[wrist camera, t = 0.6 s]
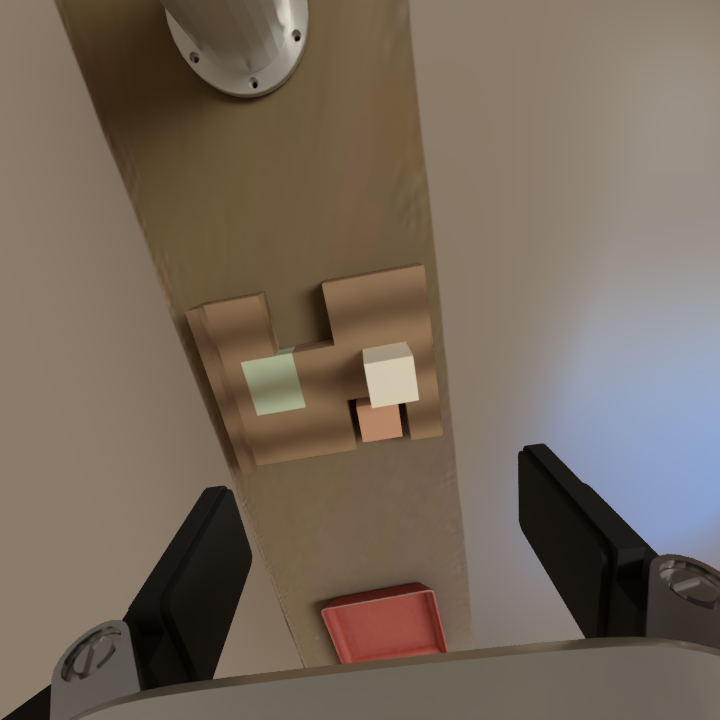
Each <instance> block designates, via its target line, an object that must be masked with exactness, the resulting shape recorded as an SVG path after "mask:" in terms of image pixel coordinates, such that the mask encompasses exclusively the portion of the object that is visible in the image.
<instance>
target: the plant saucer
mask: <svg viewBox="0 0 720 720" xmlns="http://www.w3.org/2000/svg"><path fill="white" fill-rule="evenodd" d="M321 613H322V616H323V618H324V621H325V624H326V626H327V629H328V631H329V633H330V636H331V638H332V641H333V643H334V646H335V648H336V651H337V653H338V656H339V658H340V661H341V663H342V664H346V663H355V662H364V661H373V660H382V659H391V658H400V657H409V656H418V655H428V654H437V653H446V652H448V649H447V644H446V640H445V635H444V632H443V628H442V623H441V619H440V615H439V611H438V607H437V603H436V598H435V594H434V592H433V591H432V590H431V589H430V588H429V587H427V586H425V585H423V584H421V583H413V584H408V585H402V586H397V587H392V588H386V589H381V590H375V591H370V592H365V593H359V594H354V595H348V596H343V597H338V598H336V599H334V600H333V601H331V602H330V603H329V604H327V605H326V606H325V607H324V608H323V609H322V611H321Z"/></svg>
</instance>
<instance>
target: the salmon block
mask: <svg viewBox="0 0 720 720" xmlns="http://www.w3.org/2000/svg"><path fill="white" fill-rule="evenodd" d="M356 408H357V413H358V418H359V423H360V429H361V434H362V439H363V442H369V441H375V440H382V439H388V438H395V437H401V436H403V435H402V428H401V421H400V414H399V407H398V404H394V405H388V406H382V407H377V408H372V405H371V400H370V396H369V397H363V398H357V399H356Z"/></svg>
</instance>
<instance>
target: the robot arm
mask: <svg viewBox="0 0 720 720" xmlns="http://www.w3.org/2000/svg"><path fill="white" fill-rule="evenodd" d="M159 1H160V2H161V4H162V5H163V6H164V9H165V13H166V18H167V23H168V26H169V29H170V31H171V34H172V37H173V40H174V42H175V43H176V45H177V47H178V49H179V51H180V53H181V54H182V56H183V57H184V59H185V60H186V61H187V63H188V64H189V65H190V67H191V68H192V69H193V70H194V71H195V72H196V73H197V74H198V75H199V76H200V77H201V78H202V79H203V80H204V81H206V82H207V83H208V84H209V85H211V86H212V87H214V88H216V89H218V90H219V91H221V92H223V93H226V94H229V95H232V96H235V97H245V98H251V97H258V96H263V95H265V94H268V93H270V92H273V91H274V90H276V89H277V88H278V87H280V86H281V85H283V84H284V83H285V82H286V81H287V80H288V79H289V77H290V76H291V75H292V74H293V73H294V71H295V69H296V68H297V66H298V64H299V63H300V60H301V58H302V55H303V53H304V50H305V47H306V42H307V37H308V28H309V11H308V2H307V0H159ZM296 38H299V39H300V41H298V42H295V40H296ZM198 59H199V61H198V63H196V61H197V60H198ZM255 84H258V86H257V88H255V89H254V85H255ZM518 484H519V523H520V526H521V529H522V531H523V533H524V535H525V536H526V538H527V540H528V542H529V543H530V545H531V547H532V548H533V550H534V552H535V553H536V555H537V557H538V559H539V560H540V562H541V563H542V565H543V567H544V569H545V570H546V572H547V574H548V575H549V577H550V579H551V580H552V582H553V584H554V586H555V587H556V589H557V591H558V592H559V594H560V596H561V597H562V599H563V601H564V602H565V604H566V606H567V608H568V609H569V611H570V612H571V614H572V616H573V618H574V619H575V621H576V623H577V624H578V626H579V628H580V630H581V631H582V633H583V635H584V636H585V638H586V639H579V640H567V641H555V642H543V643H533V644H523V645H513V646H504V647H495V648H484V649H475V650H465V651H456V652H446V653H437V654H428V655H418V656H409V657H400V658H391V659H382V660H373V661H364V662H355V663H346V664H337V665H329V666H320V667H311V668H303V669H294V670H286V671H278V672H269V673H260V674H252V675H243V676H235V677H227V678H220V679H213V676H214V673H215V670H216V667H217V664H218V661H219V658H220V655H221V653H222V650H223V647H224V643H225V641H226V638H227V635H228V632H229V629H230V626H231V623H232V620H233V617H234V614H235V611H236V608H237V605H238V602H239V599H240V596H241V593H242V590H243V588H244V585H245V582H246V579H247V576H248V573H249V570H250V567H251V563H252V552H251V549H250V546H249V542H248V540H247V536H246V533H245V530H244V526H243V523H242V520H241V517H240V514H239V510H238V507H237V504H236V501H235V498H234V494H233V492H232V490H230V489H229V490H228V489H227V487H226V486H217V487H209V488H206V489H205V490H204V491H203V493H202V494H201V496H200V498H199V499H198V501H197V502H196V504H195V506H194V507H193V509H192V510H191V512H190V513H189V515H188V516H187V518H186V520H185V521H184V523H183V524H182V526H181V527H180V529H179V530H178V532H177V534H176V535H175V537H174V538H173V540H172V541H171V543H170V544H169V546H168V548H167V549H166V551H165V552H164V554H163V555H162V557H161V559H160V560H159V562H158V563H157V565H156V566H155V568H154V569H153V571H152V572H151V574H150V576H149V577H148V579H147V580H146V582H145V583H144V585H143V587H142V588H141V590H140V591H139V593H138V594H137V596H136V597H135V599H134V601H133V602H132V604H131V605H130V607H129V608H128V609H129V610H128V612H127V614H126V615H125V617H124V618H123V620H122V621H121V620H111V621H108V622H104V623H101V624H99V625H97V626H96V627H94V628H92V629H90V630H89V631H87V632H86V633H85V634H83V635H82V636H81V637H79V638H78V639H77V640H76V641H75V642H74V643H73V644H72V645H71V646H70V647H69V648H68V649H67V650H66V652H65V653H64V654H63V655H62V657H61V658H60V659H59V661H58V663H57V665H56V667H55V668H54V671H53V675H52V681H51V684H50V685H49V686H47V687H46V688H45V689H43V690H42V691H41V692H39V693H38V694H37V695H35V696H34V697H32V698H31V699H29V700H28V701H27V702H25V703H24V704H23V705H21V706H20V707H18V708H17V709H16V710H14V711H13V712H12V713H10V714H9V715H7V716H6V717H5V718H3V719H2V720H720V572H719V571H717V570H716V569H714V568H713V567H711V566H709V565H707V564H705V563H703V562H701V561H698V560H696V559H693V558H689V557H686V556H681V555H673V554H666V555H661V556H659V555H658V554H657V553H656V552H655V551H654V550H653V549H652V548H651V547H650V546H649V545H648V544H647V543H646V542H645V541H644V540H643V539H642V538H641V537H640V536H639V535H638V534H637V533H636V532H635V531H634V530H633V529H632V528H631V527H630V526H629V525H628V524H627V523H626V522H625V521H624V520H623V519H622V518H621V517H620V516H619V515H618V514H617V513H616V512H615V511H614V510H613V509H612V508H611V507H610V506H609V505H608V504H607V503H606V502H605V501H604V500H603V499H602V498H601V497H600V496H599V495H598V494H597V493H596V492H595V491H594V490H593V489H592V488H591V487H590V486H589V485H587V484H585V483H582V482H581V481H580V479H579V478H578V477H577V476H575V474H574V473H573V472H572V471H571V470H570V469H569V468H568V467H567V466H566V465H565V464H564V463H563V462H562V461H561V460H560V459H559V458H558V457H557V456H556V455H555V454H554V453H553V452H552V451H551V450H550V449H549V448H548V447H547V446H546V445H545V444H535V445H528V446H524V448H523V451H520V452H519V454H518ZM212 679H213V680H212Z"/></svg>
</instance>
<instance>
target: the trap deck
mask: <svg viewBox="0 0 720 720" xmlns="http://www.w3.org/2000/svg"><path fill="white" fill-rule="evenodd" d="M322 288H323V293H324V297H325V302H326V307H327V311H328V316H329V321H330V325H331V330H332V335H333V339H330V340H324V341H318V342H313V343H307V344H302V345H296V346H291V347H285V348H280V347H279V343H278V340H277V336H276V332H275V328H274V325H273V321H272V317H271V314H270V310H269V306H268V303H267V299H266V295H265V292H260V293H255V294H249V295H244V296H239V297H233V298H228V299H223V300H217V301H212V302H206V303H203V304H201V305H198V306H196V307H194V308H191V309H189V310H187V311H185V314H186V317H187V320H188V323H189V325H190V328H191V331H192V334H193V337H194V339H195V342H196V345H197V348H198V351H199V353H200V356H201V359H202V362H203V365H204V367H205V370H206V373H207V376H208V379H209V381H210V384H211V387H212V390H213V393H214V395H215V398H216V401H217V404H218V407H219V410H220V412H221V415H222V418H223V421H224V424H225V426H226V429H227V432H228V435H229V438H230V440H231V443H232V446H233V449H234V452H235V454H236V457H237V460H238V463H239V466H240V468H241V471H242V474H243V477H250V476H253V475H254V473H255V471H256V468H257V466H259V465H265V464H271V463H277V462H283V461H289V460H295V459H301V458H307V457H313V456H319V455H326V454H332V453H338V452H344V451H350V450H356V449H357V436H356V431H355V426H354V421H353V417H352V412H351V407H350V402H349V400H352V399H357V398H363V397H369V396H370V395H369V389H368V384H367V379H366V373H365V368H364V361H363V350H362V349H367V348H372V347H378V346H384V345H389V344H395V343H400V342H406V343H407V345H408V347H409V349H410V351H411V353H412V354H413V358H414V366H415V373H416V381H417V388H418V395H419V400H418V401H412V402H406V403H404V405H405V412H406V419H407V425H408V430H409V433H410V437H411V440H416V439H422V438H428V437H434V436H440V435H443V430H442V421H441V413H440V404H439V395H438V386H437V377H436V368H435V359H434V350H433V341H432V332H431V324H430V315H429V306H428V297H427V288H426V279H425V270H424V265H423V264H420V263H416V264H410V265H405V266H400V267H394V268H389V269H383V270H378V271H373V272H367V273H362V274H357V275H351V276H346V277H341V278H335V279H330V280H324V281H323V283H322Z"/></svg>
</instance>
